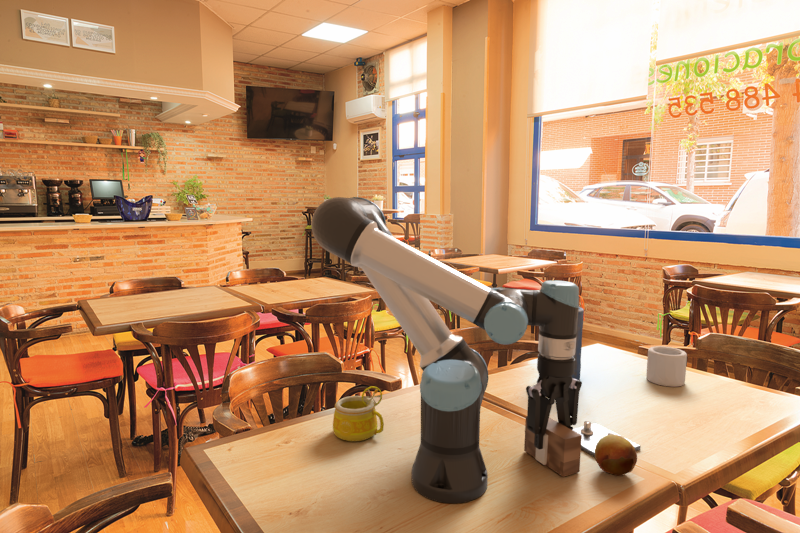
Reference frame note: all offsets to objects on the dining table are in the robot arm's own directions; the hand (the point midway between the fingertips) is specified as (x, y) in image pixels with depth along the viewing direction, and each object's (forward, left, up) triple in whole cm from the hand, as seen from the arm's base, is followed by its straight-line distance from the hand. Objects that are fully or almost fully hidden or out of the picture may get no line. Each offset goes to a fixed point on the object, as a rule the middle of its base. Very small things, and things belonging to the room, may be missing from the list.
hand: (550, 458), depth 107 cm
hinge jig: (+16, +2, -1) cm, 16 cm away
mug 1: (-33, +30, -1) cm, 44 cm away
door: (0, 0, 0) cm, 0 cm away
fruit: (+9, -9, -1) cm, 13 cm away
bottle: (+41, +39, -1) cm, 57 cm away
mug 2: (+68, +24, -1) cm, 72 cm away
